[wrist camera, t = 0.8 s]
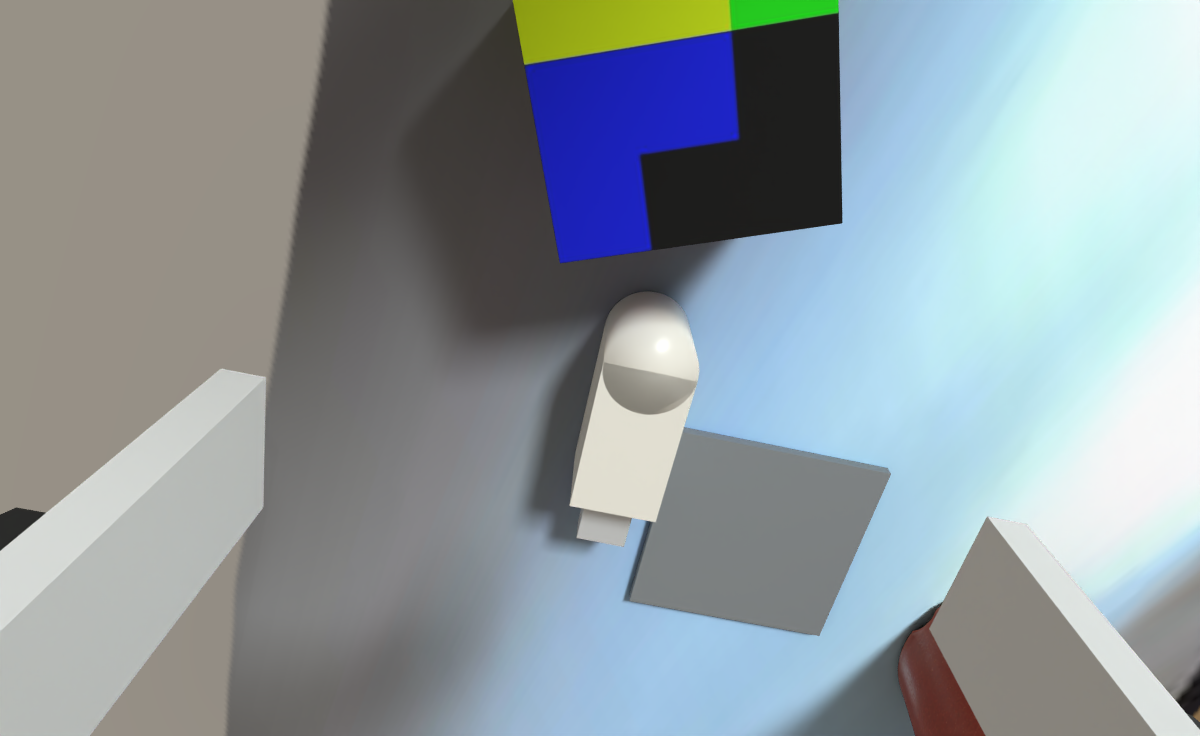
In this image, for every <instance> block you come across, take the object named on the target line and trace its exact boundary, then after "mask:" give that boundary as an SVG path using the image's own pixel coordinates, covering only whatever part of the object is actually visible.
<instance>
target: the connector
mask: <svg viewBox="0 0 1200 736" xmlns="http://www.w3.org/2000/svg"><path fill="white" fill-rule="evenodd" d="M698 377H699V363H698V358H697V354H696V350H695V346H694V342H693V338H692V334H691V330H690V326H689V322H688V319H687V316H686V314H685V312H684V310H683V309H682V307H681V306H680V305H679V304H678V303H677V302H676V301H675V300H673V299H672V298H670V297H668V296H666V295H664V294H661V293H658V292H651V291H645V292H638V293H634V294H631V295H629V296H627V297H625V298H623V299H622V300H620V301H619V302H618V303H617V304H616V305H615V306H614V307H613V308H612V310H611V311H610V313H609V315H608V317H607V319H606V323H605V327H604V331H603V335H602V340H601V344H600V348H599V353H598V357H597V361H596V366H595V370H594V374H593V379H592V383H591V387H590V392H589V396H588V400H587V405H586V409H585V413H584V418H583V422H582V426H581V430H580V435H579V439H578V443H577V448H576V452H575V459H574V469H573V478H572V488H571V497H570V506H573V507H578V508H581V512H580V516H579V520H578V527H577V538H579V539H585V540H590V541H595V542H601V543H606V544H611V545H617V546H622V547H624V544H625V540H626V537H627V533H628V530H629V526H630V523H631V519H632V518H636V519H641V520H646V521H651V522H656V519H657V516H658V513H659V509H660V506H661V503H662V499H663V496H664V492H665V489H666V486H667V482H668V479H669V476H670V472H671V469H672V466H673V462H674V459H675V456H676V452H677V449H678V445H679V442H680V439H681V435H682V432H683V429H684V425H685V422H686V419H687V415H688V412H689V409H690V405H691V402H692V398H693V395H694V392H695V388H696V385H697V382H698Z"/></svg>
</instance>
